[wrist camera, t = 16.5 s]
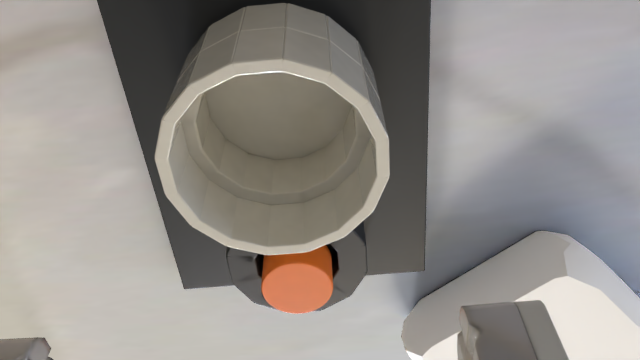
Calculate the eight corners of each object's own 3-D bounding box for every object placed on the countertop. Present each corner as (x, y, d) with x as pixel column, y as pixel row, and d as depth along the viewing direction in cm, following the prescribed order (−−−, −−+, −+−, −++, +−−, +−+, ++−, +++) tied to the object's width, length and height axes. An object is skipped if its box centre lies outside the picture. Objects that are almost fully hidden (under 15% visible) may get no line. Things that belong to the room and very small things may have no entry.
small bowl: (165, 8, 20) (128, 71, 16) (369, -11, 19) (387, 48, 15) (205, 176, 24) (184, 262, 19) (376, 162, 23) (391, 246, 19)
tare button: (259, 235, 24) (256, 265, 22) (328, 229, 24) (330, 259, 22) (268, 285, 25) (266, 316, 24) (333, 280, 25) (335, 311, 24)
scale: (102, -31, 20) (74, -4, 18) (424, -62, 20) (441, -38, 17) (190, 273, 28) (179, 321, 26) (419, 256, 28) (430, 303, 26)
